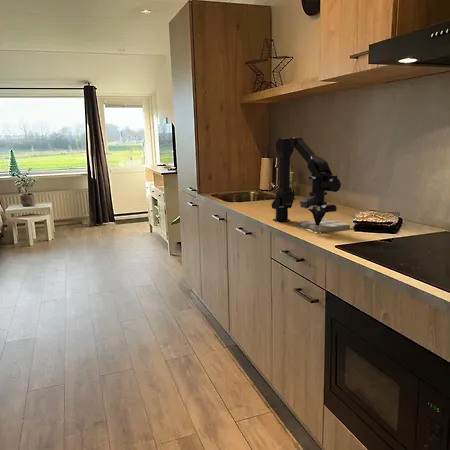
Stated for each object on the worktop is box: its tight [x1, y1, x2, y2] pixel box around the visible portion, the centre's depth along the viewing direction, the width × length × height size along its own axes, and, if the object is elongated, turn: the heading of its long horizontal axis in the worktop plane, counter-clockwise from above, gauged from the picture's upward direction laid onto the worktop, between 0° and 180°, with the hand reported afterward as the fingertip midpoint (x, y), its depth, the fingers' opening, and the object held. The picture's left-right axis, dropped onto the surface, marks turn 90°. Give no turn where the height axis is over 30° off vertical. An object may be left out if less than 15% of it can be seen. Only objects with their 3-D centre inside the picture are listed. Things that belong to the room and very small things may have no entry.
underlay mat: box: [291, 223, 353, 234], centre depth 189 cm, size 19×19×1 cm
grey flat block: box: [321, 218, 351, 229], centre depth 192 cm, size 16×6×2 cm, turn 24°
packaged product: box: [350, 212, 361, 228], centre depth 195 cm, size 18×5×10 cm
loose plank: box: [298, 219, 339, 231], centre depth 189 cm, size 16×10×2 cm, turn 24°
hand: (317, 225), depth 185 cm, fingers closed
